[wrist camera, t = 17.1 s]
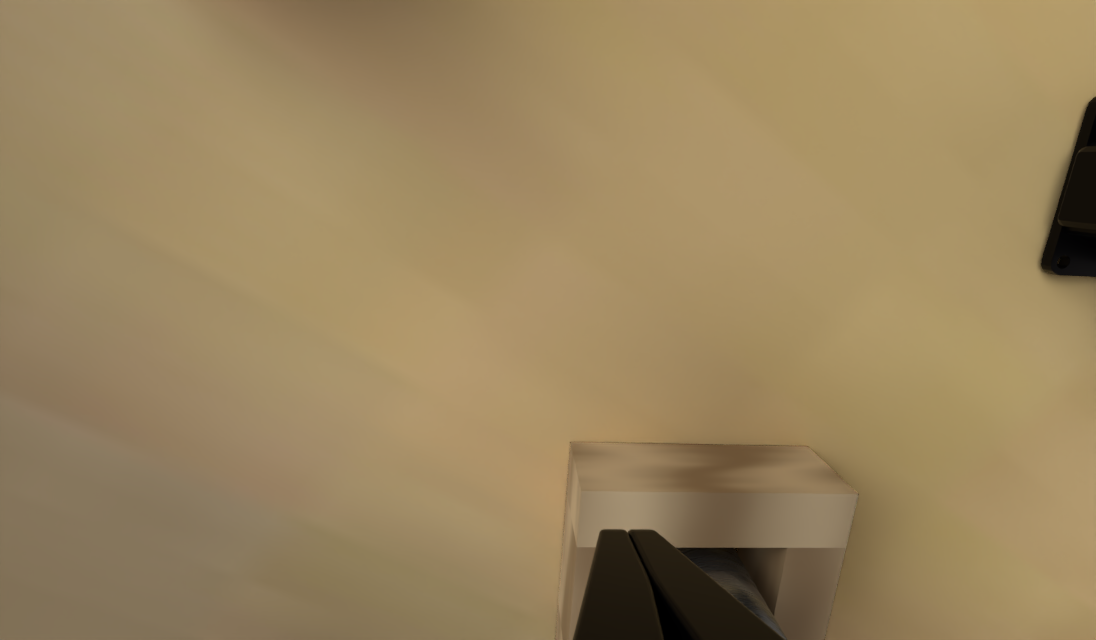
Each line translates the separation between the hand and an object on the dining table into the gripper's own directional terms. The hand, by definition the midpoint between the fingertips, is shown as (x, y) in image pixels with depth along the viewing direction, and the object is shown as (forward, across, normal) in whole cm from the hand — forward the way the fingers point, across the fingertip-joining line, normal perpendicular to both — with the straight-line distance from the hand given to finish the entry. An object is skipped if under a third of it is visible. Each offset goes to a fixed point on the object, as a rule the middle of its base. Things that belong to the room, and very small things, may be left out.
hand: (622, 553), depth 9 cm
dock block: (+13, -6, +10) cm, 17 cm away
